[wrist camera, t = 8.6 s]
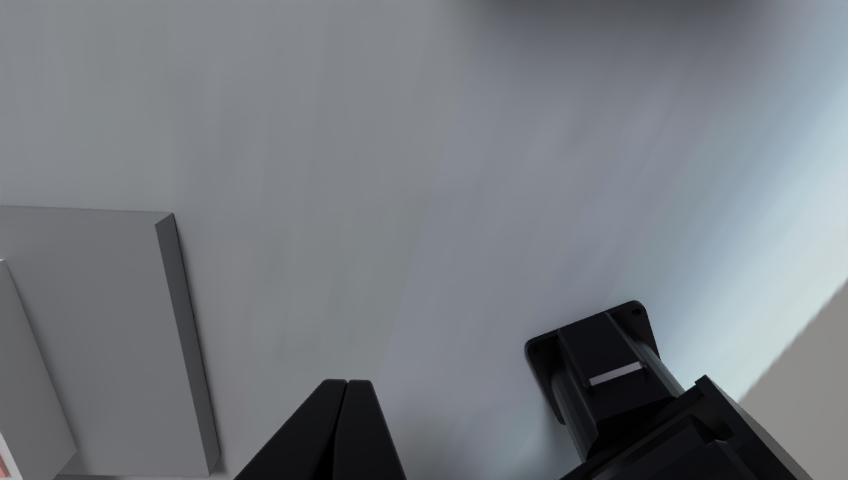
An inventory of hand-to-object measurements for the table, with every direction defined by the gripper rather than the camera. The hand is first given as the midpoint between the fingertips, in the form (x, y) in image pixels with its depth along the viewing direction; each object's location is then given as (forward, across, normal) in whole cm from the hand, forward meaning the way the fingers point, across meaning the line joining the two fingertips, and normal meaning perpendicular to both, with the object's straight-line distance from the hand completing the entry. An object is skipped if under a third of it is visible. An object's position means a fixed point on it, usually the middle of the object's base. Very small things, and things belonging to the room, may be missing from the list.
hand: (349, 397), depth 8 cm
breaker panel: (+13, +19, +10) cm, 25 cm away
